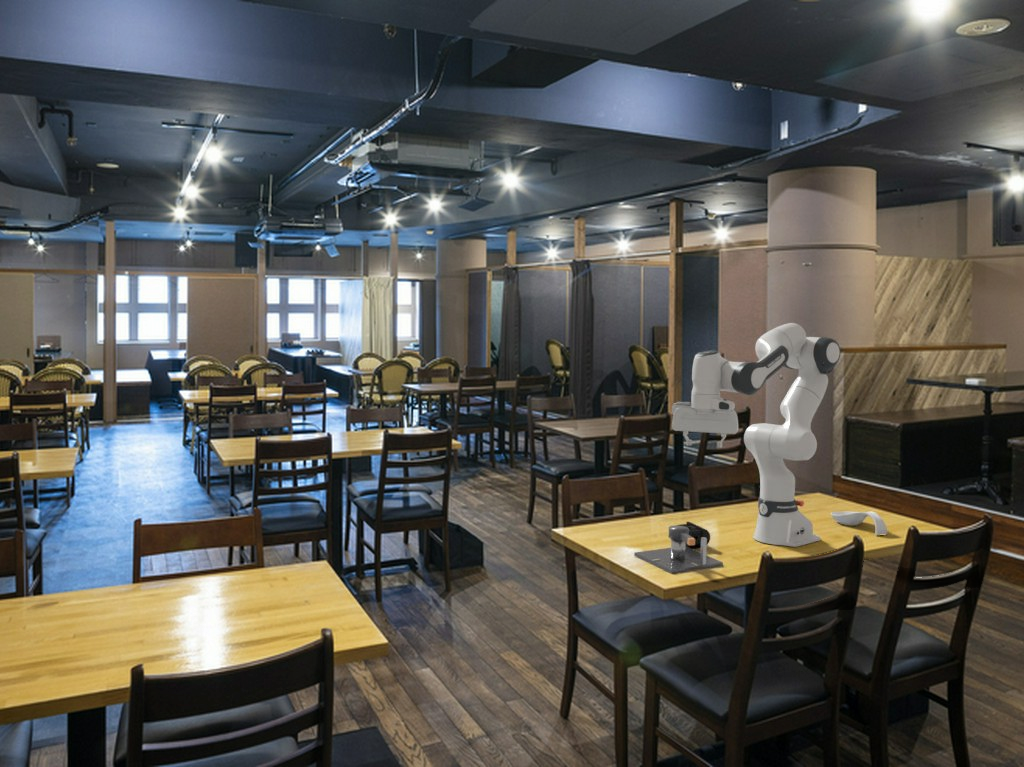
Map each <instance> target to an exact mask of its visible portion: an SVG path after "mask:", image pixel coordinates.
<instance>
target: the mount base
mask: <svg viewBox="0 0 1024 767" xmlns="http://www.w3.org/2000/svg"><path fill="white" fill-rule="evenodd" d="M707 545H708V544H707V538H705V537H702V538H701V549H700V552H699V551H697V550H696V549H694V550H692V549H690V548H688V547H686V543H685V542H684V541H682V540H673V539H670V547H666V548H659V549H658V548H657V549H651V550H645V551H644V550H643V551H635V552H634V553H633V554H634V557H635V558H638V559H640V560H643V561H645V562H647V563H649V564H650V565H653V566H654V567H657V568H659V569H661V570H663V571H665V572H667V573H670V574H676V573H678V574H679V573H683V572H691V571H697V569H698V570H702V569H703V570H704V569H711V568H717V567H722V566H723V565H724V562H723V561H720V560H718V559H717V558H716V559H715V558H713V557H711V556H709V555H707V548H708V546H707ZM710 567H711V568H710Z"/></svg>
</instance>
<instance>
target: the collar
mask: <svg viewBox="0 0 1024 767" xmlns="http://www.w3.org/2000/svg"><path fill="white" fill-rule="evenodd" d="M678 525H679V524H677V525H670V526H669V527H668V538H669V540H671V539H673V540H682V541H684V542H685V543H687V544H688V545H695V539H694V538H693V537H691V536H690V535H689V528H688V527H685V526H678Z"/></svg>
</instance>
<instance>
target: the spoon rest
mask: <svg viewBox="0 0 1024 767" xmlns="http://www.w3.org/2000/svg"><path fill="white" fill-rule="evenodd" d="M830 515H831V517H832V519H833V520H834V521H835V522H837V523H838V524H840V525H842V524H844V525H843V526H847V525H857V526H858V525H861V523H863V522H864V521H865V520H866V519H867V517H870V518H871V520H873V523H874V526H875V530H874V531H875V536H876V535H880V534H887V533H888V527H887V524H886V522H885V521H884V519H883V518H882V517H881V516H880V515H879V514H878V513H877V512H875V511H865V512H864V511H859V512H858V511H850V510H844V511H843V510H840V511H832V512H830ZM887 535H888V534H887Z"/></svg>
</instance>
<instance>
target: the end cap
mask: <svg viewBox="0 0 1024 767" xmlns="http://www.w3.org/2000/svg"><path fill="white" fill-rule="evenodd" d="M677 525H678V526H685V527H688V528H689V535H690V536H691V537H693V538H694V539H695V545H688V544H687V543H686V547H688V548H690V549H692V550H701V538H702V537H705V538H707V545H708V544H709V543H710V541H711V534H710V531H709V530H707V528H706V529H705V528H703V527H702V526H700V525H697V524H696V523H693V522H691V521H686V523H684V524H683V523H682V524H677Z"/></svg>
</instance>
